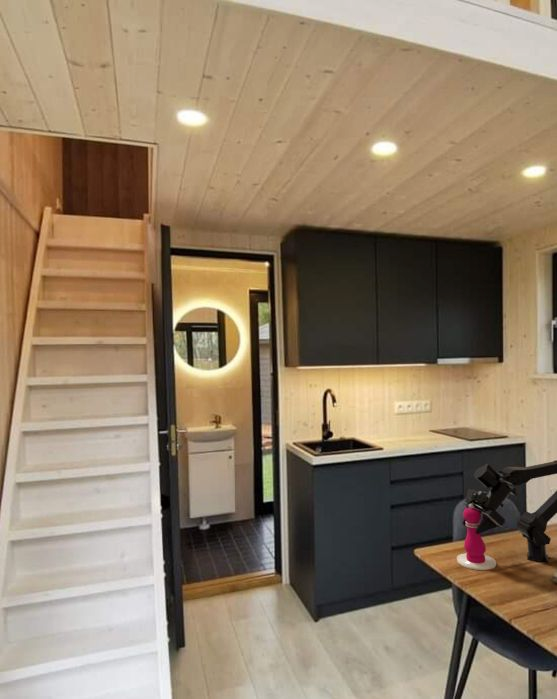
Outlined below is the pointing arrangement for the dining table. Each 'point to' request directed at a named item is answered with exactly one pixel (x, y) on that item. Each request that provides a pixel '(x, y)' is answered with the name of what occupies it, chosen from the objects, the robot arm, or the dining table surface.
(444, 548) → the dining table surface
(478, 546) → the pepper mill
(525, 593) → the dining table surface
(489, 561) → the ceramic plate
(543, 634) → the dining table surface
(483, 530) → the robot arm
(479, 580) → the dining table surface
